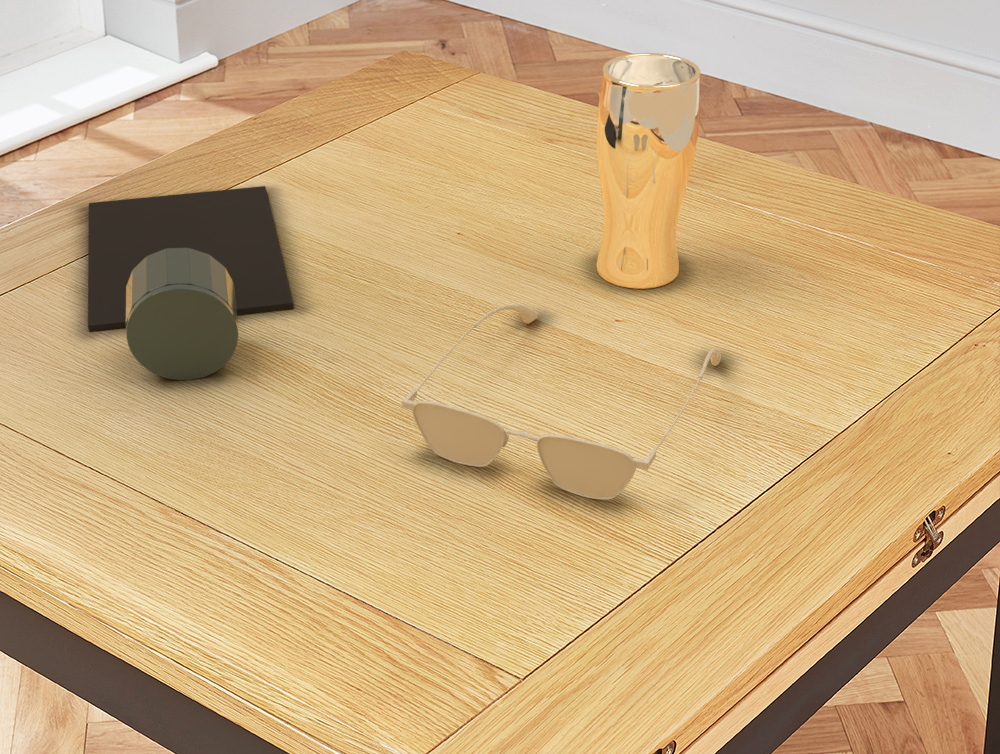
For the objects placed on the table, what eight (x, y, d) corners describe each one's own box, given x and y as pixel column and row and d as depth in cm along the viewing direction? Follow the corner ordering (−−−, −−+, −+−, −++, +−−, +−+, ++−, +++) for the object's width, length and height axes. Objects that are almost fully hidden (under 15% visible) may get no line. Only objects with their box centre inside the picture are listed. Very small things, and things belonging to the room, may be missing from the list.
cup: (111, 363, 86) (113, 320, 89) (216, 392, 89) (213, 349, 92) (146, 274, 82) (146, 233, 86) (254, 308, 85) (249, 267, 89)
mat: (293, 309, 95) (293, 302, 95) (89, 332, 92) (87, 325, 92) (266, 191, 110) (265, 185, 110) (89, 208, 108) (88, 202, 108)
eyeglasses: (401, 450, 81) (398, 394, 79) (520, 314, 94) (521, 263, 92) (643, 515, 76) (648, 457, 74) (734, 362, 89) (740, 309, 87)
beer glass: (575, 280, 98) (583, 77, 89) (611, 241, 103) (622, 45, 94) (665, 300, 96) (683, 94, 87) (697, 259, 101) (717, 60, 92)
